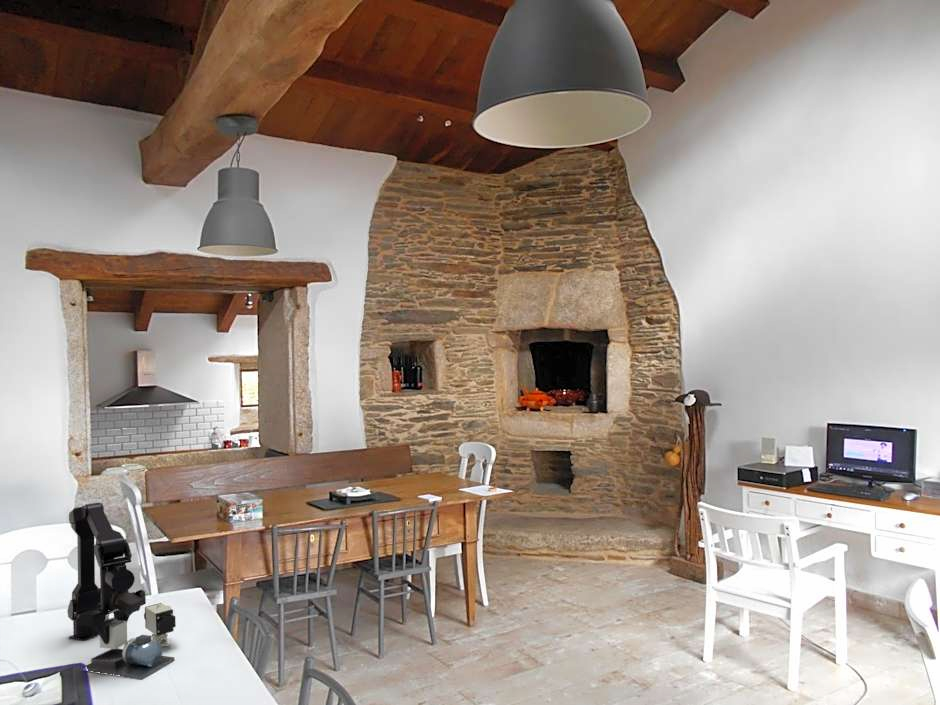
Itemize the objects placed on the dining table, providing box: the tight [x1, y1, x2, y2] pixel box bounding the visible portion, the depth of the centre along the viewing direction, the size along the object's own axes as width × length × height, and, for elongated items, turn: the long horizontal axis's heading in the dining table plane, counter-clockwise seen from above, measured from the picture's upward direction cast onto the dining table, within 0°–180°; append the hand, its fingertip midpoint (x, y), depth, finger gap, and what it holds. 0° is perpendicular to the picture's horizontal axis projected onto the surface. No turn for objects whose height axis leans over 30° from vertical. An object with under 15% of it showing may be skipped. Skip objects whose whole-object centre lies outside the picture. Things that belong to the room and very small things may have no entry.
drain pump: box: [99, 617, 128, 650], centre depth 201 cm, size 5×4×7 cm
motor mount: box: [85, 634, 176, 681], centre depth 199 cm, size 20×12×8 cm, turn 71°
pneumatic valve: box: [143, 602, 177, 648], centre depth 213 cm, size 6×12×12 cm, turn 44°
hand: (113, 640), depth 201 cm, fingers closed on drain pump, 4 cm apart
